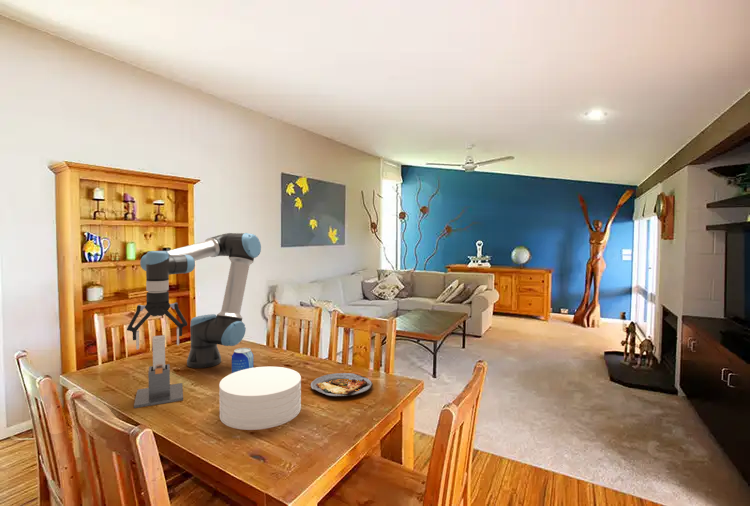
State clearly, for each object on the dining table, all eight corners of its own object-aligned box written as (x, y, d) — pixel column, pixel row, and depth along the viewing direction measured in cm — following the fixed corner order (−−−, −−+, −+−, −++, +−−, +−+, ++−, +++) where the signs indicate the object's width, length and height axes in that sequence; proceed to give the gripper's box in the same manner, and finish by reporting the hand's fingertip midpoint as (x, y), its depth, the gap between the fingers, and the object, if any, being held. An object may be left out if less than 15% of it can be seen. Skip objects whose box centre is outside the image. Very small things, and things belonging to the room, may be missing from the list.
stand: (182, 385, 166) (181, 356, 165) (183, 400, 152) (182, 368, 151) (137, 391, 159) (136, 361, 158) (133, 408, 144) (133, 375, 144)
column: (166, 389, 158) (165, 334, 157) (166, 394, 154) (165, 337, 153) (153, 391, 156) (152, 336, 155) (152, 396, 152) (151, 339, 151)
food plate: (383, 387, 166) (383, 379, 165) (342, 406, 148) (341, 397, 148) (341, 374, 182) (341, 366, 182) (300, 389, 165) (300, 381, 165)
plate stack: (258, 439, 125) (257, 403, 124) (202, 416, 140) (202, 383, 139) (316, 406, 148) (316, 375, 148) (263, 389, 163) (263, 361, 163)
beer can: (257, 386, 166) (257, 348, 165) (244, 394, 158) (244, 354, 157) (240, 383, 168) (240, 346, 168) (227, 391, 161) (227, 351, 160)
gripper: (193, 288, 162) (193, 340, 163) (120, 291, 150) (121, 347, 151) (194, 291, 155) (194, 345, 156) (117, 294, 144) (118, 352, 145)
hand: (158, 346), depth 154 cm, fingers open, 13 cm apart
